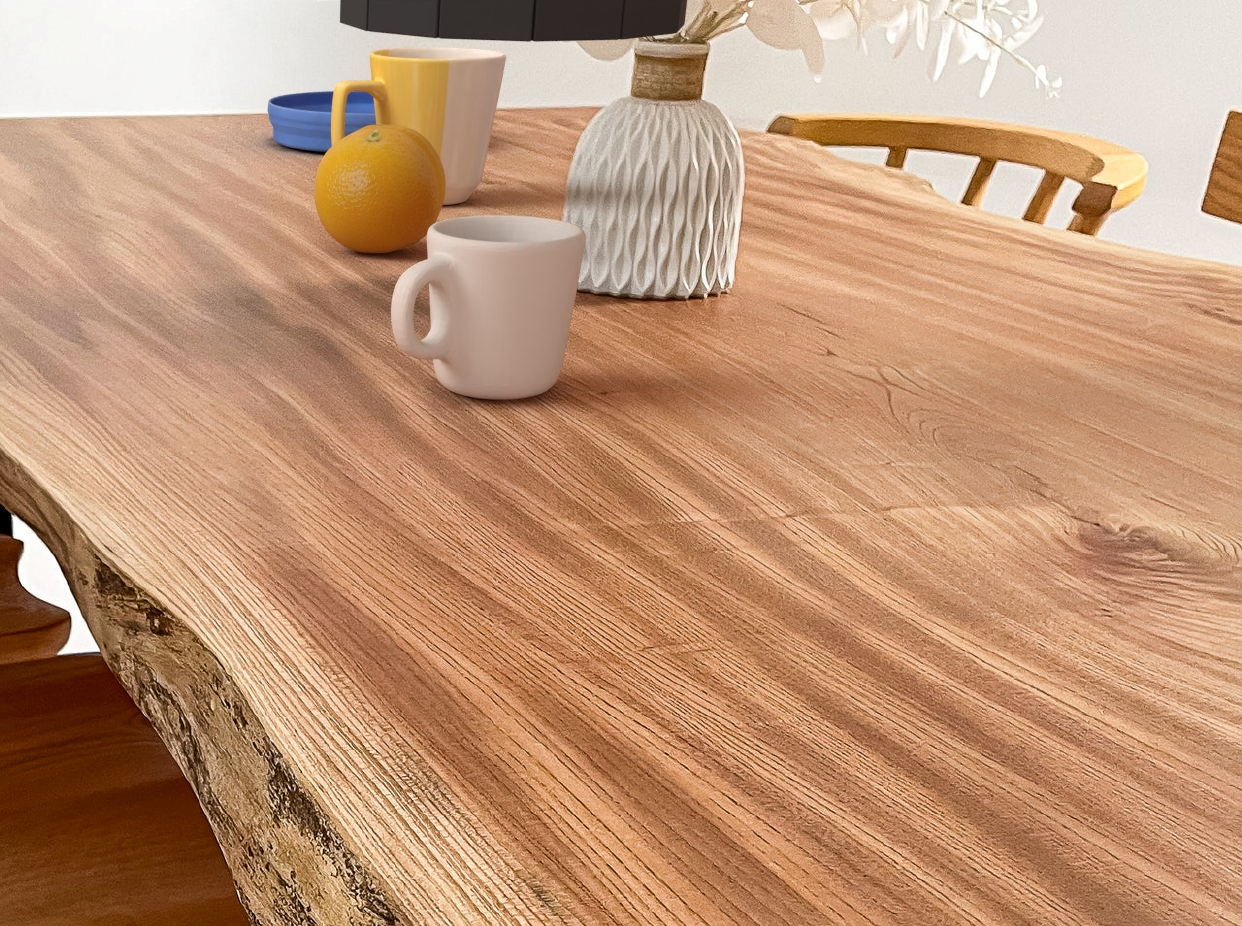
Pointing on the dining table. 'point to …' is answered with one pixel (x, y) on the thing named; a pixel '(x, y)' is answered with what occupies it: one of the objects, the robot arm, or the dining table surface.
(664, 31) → the ring
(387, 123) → the mug
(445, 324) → the cup
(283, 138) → the bowl
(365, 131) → the fruit
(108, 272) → the dining table surface
